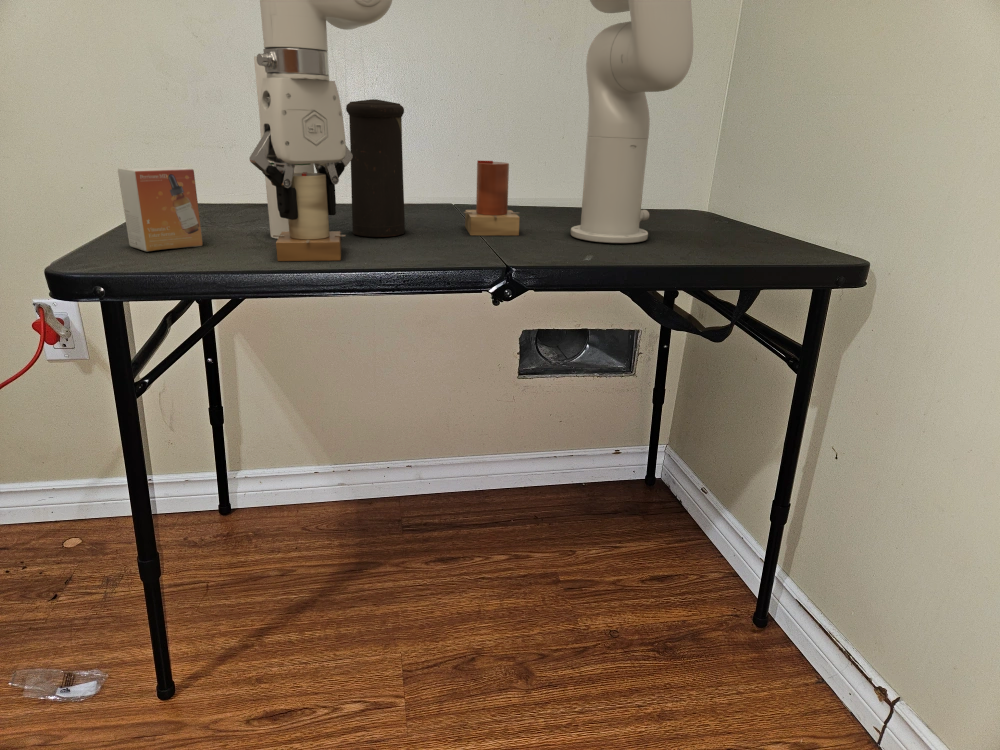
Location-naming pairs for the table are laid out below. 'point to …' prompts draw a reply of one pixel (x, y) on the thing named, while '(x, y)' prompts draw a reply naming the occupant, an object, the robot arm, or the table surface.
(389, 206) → the container
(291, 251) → the base
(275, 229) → the cylindrical container
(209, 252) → the table surface
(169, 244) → the small box
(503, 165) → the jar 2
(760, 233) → the table surface
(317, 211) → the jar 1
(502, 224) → the base
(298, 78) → the robot arm
